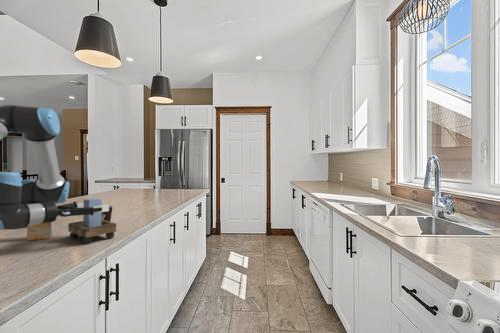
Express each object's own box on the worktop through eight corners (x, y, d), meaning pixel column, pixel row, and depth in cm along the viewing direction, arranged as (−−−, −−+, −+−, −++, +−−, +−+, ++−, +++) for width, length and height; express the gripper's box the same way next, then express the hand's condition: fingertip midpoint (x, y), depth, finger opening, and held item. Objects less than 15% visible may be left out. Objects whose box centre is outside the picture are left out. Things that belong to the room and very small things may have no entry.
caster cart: (68, 238, 110) (68, 223, 110) (97, 232, 120) (97, 218, 120) (85, 245, 101) (86, 228, 101) (115, 238, 111) (116, 223, 111)
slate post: (83, 227, 110) (83, 199, 110) (95, 224, 114) (95, 198, 114) (88, 228, 107) (89, 200, 107) (101, 226, 111) (101, 199, 111)
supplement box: (26, 241, 105) (26, 209, 105) (29, 238, 109) (30, 207, 109) (51, 238, 109) (51, 208, 109) (53, 235, 113) (54, 206, 113)
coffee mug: (115, 224, 136) (116, 205, 136) (105, 228, 128) (105, 208, 127) (95, 223, 137) (95, 204, 137) (83, 227, 129) (83, 207, 129)
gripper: (29, 218, 102) (87, 211, 120) (54, 228, 89) (115, 218, 106) (29, 200, 102) (87, 195, 120) (55, 206, 88) (115, 200, 106)
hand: (100, 206), depth 113 cm, fingers open, 13 cm apart
